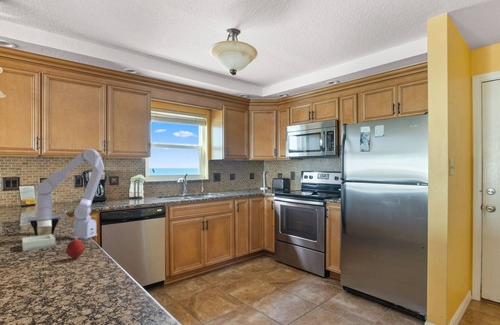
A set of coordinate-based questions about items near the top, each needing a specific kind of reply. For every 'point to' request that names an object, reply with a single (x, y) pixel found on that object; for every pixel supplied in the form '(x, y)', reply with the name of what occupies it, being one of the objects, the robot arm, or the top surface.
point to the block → (44, 230)
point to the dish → (38, 242)
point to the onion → (75, 248)
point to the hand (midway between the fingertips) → (44, 235)
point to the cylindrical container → (41, 223)
